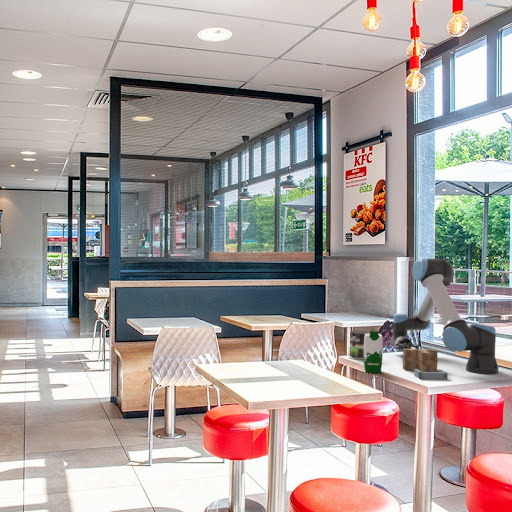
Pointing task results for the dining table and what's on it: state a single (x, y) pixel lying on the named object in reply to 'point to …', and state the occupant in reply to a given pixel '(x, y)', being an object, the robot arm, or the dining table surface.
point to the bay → (431, 374)
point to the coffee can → (357, 344)
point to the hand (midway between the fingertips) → (415, 351)
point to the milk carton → (373, 352)
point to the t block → (420, 359)
